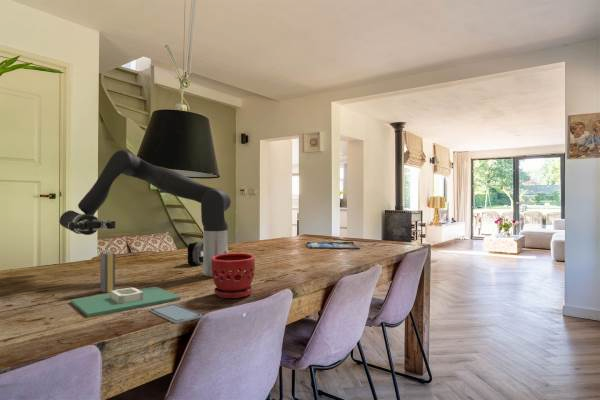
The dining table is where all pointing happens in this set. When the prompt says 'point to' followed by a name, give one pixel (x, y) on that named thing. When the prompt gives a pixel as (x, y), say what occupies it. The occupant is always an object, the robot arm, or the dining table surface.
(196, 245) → the cpu cooler
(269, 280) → the dining table surface
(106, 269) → the keyed plug
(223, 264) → the plant pot
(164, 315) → the smartphone
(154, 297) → the board
